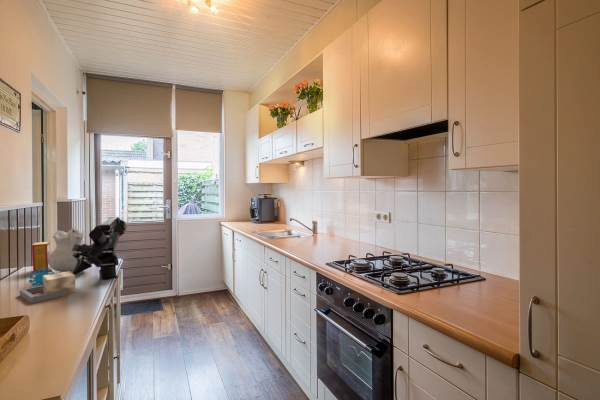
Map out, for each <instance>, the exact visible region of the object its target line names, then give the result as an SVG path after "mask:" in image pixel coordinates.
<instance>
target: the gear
mask: <svg viewBox="0 0 600 400" xmlns="http://www.w3.org/2000/svg"><path fill="white" fill-rule="evenodd" d="M47 270H48V269H47V268H44V270H43V271H42V269H38V271H39V273H36V271H35V272H33V271H32V275H31V274H30V275H29V276H28V278H29V280H28V283H30V284H31V286H32V287H36V286H40V285H43V275H49V274H55V272H54V271H53V269H52V268H50V270H49V271H47ZM41 271H42V272H41ZM45 271H47V272H45ZM33 275H34V276H33Z"/></svg>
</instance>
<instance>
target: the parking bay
mask: <svg viewBox="0 0 600 400" xmlns="http://www.w3.org/2000/svg"><path fill="white" fill-rule="evenodd" d="M18 292H19V297H20V298H23V299H24V300H25V301H28V303H30V304H31V303H33V304H37V303H40V301H41V302H43V301H44V302H45V301H49V300H53V299H57V298H62V297H66V296H68V293H67V289H64V290H59V291H55V292H50V293H46V294H45V293H41V292H43V285H42V284H40V286H36V285H35V286H32V287H31V286H30V287H27V288H26V287H25V288H22V289H19V291H18ZM36 293H41V294H37V295H34V294H36Z"/></svg>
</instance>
